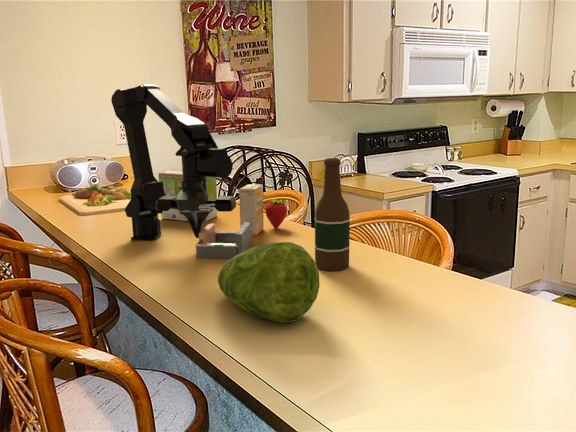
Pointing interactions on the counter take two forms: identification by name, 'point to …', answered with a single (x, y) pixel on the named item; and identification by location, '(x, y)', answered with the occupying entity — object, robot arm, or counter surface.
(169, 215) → the tea box
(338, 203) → the beer bottle
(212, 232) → the long salmon pink beam
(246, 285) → the lettuce
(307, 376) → the counter surface
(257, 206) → the supplement box
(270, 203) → the strawberry
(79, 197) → the cutting board
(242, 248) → the gauge frame
